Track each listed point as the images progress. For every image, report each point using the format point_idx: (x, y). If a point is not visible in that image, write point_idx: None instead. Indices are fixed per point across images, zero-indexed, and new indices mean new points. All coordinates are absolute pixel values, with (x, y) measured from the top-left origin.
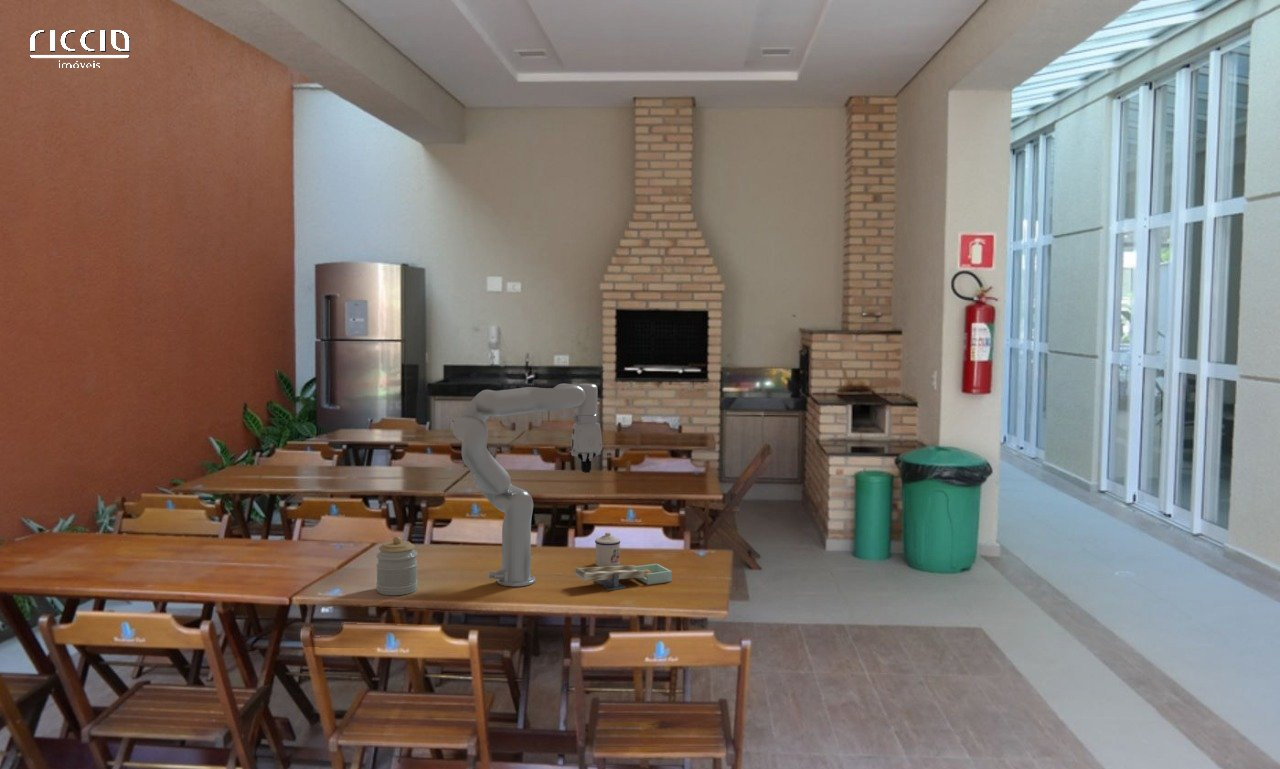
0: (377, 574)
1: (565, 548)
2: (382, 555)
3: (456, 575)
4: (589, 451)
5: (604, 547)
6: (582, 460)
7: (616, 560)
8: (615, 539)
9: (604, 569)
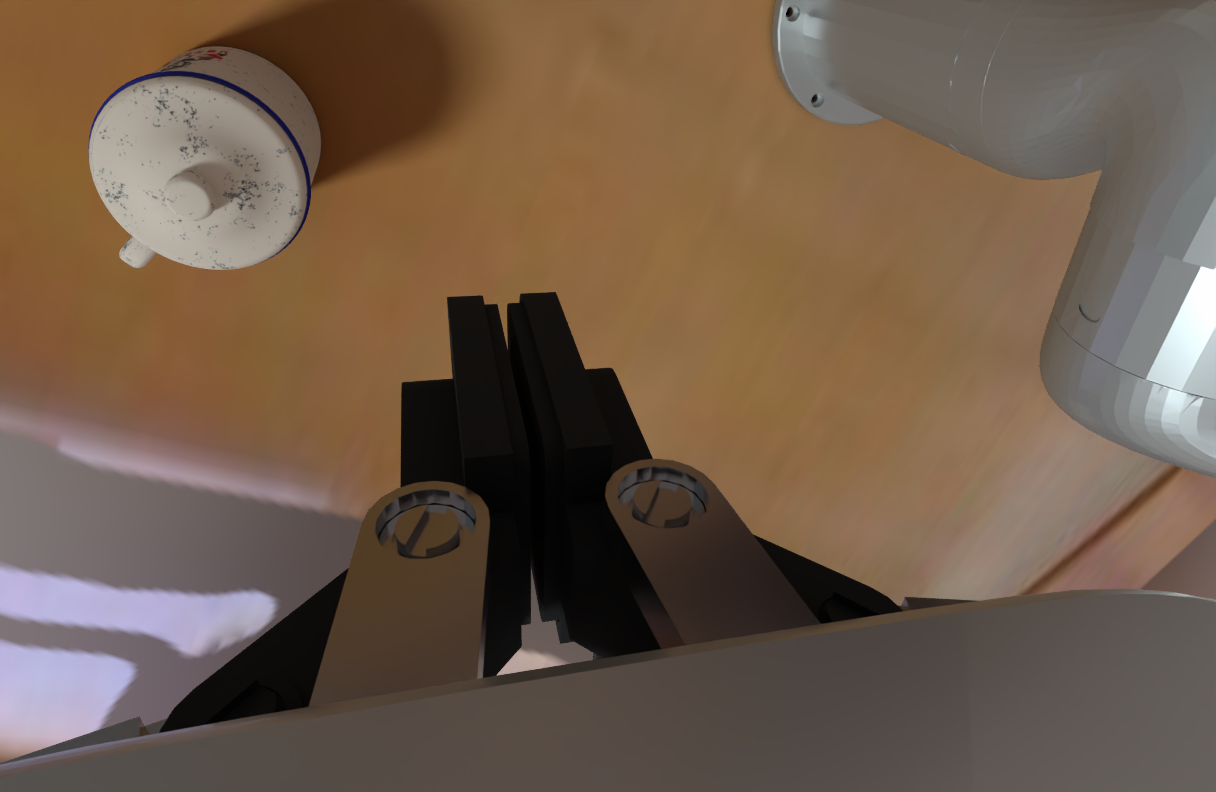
0: None
1: None
2: None
3: (996, 248)
4: (642, 683)
5: (259, 97)
6: (694, 511)
7: (175, 58)
8: (135, 126)
9: None
